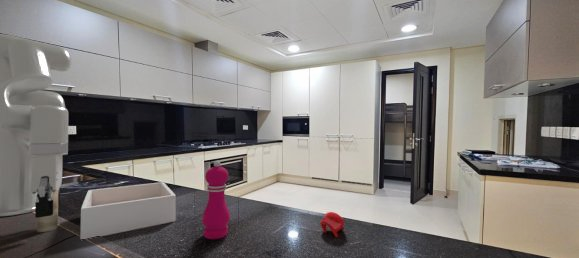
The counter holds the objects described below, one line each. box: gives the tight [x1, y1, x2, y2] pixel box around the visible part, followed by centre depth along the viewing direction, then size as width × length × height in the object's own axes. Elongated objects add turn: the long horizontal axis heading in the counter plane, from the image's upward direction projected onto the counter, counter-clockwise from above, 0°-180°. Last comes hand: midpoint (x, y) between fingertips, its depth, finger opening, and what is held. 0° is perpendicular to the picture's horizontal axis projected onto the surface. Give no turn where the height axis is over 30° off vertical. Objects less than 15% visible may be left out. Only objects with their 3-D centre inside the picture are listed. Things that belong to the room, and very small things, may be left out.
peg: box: [36, 189, 59, 233], centre depth 65 cm, size 4×4×12 cm
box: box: [79, 181, 177, 240], centre depth 74 cm, size 22×22×8 cm
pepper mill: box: [201, 160, 231, 240], centre depth 64 cm, size 7×7×20 cm
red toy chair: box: [320, 211, 345, 238], centre depth 66 cm, size 8×6×6 cm
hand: (48, 211), depth 65 cm, fingers open, 9 cm apart
